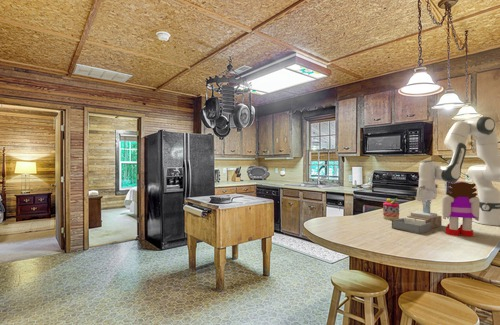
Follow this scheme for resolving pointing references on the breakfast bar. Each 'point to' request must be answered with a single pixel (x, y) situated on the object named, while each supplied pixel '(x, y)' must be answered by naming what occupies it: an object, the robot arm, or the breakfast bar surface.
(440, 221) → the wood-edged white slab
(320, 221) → the breakfast bar surface
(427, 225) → the tray
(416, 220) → the tile
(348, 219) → the breakfast bar surface
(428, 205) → the blue-knobbed white block
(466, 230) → the toy
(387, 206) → the cake
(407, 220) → the tile
